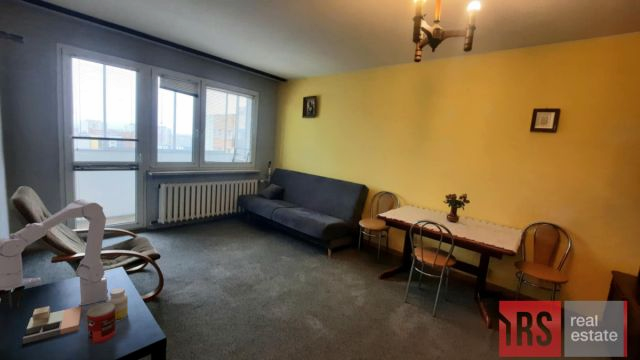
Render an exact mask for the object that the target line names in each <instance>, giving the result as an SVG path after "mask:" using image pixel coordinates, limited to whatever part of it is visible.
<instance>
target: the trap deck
mask: <svg viewBox="0 0 640 360" xmlns="http://www.w3.org/2000/svg"><path fill="white" fill-rule="evenodd" d="M81 315H82V306H76V307H72V308H67V309H62V310H58V311H54V312H50V318H49V321H48V322H44V323H40V324H35V325H33V316H32V317H30V319H29V322H28V325H27V327H26V330H25V331H26V336H23V337H22V344H23V345H24V344H29V343H32V342H36V341H40V340H41V341H42V340H43V339H47V338H52V337H55V336H58V335H59V336H60V335H63V334H67V333H71V332H74V331H79V329H80V323H81Z"/></svg>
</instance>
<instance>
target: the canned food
mask: <svg viewBox="0 0 640 360" xmlns="http://www.w3.org/2000/svg"><path fill="white" fill-rule="evenodd" d="M86 318H87V319H86V321H87V324H86V325H87V338H88V341H89V343H91V344H101V343H104V342H107V341H109V340H111V339H112V338H113V337H114V336H115V335H116V322H115V305H114V304H112V303H108V302H105V303H99V304H95V305H93V306H91V307H89V309H88V310H87V312H86Z"/></svg>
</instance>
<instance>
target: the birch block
mask: <svg viewBox="0 0 640 360" xmlns="http://www.w3.org/2000/svg"><path fill="white" fill-rule="evenodd" d="M50 313H51V307H50V306H49V305H48V306H43V307H38V308H35V309H34V310H33V314H32V317H33V325H35V324H40V323H44V322H48V321H49V318H50Z"/></svg>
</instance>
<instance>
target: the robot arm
mask: <svg viewBox="0 0 640 360" xmlns="http://www.w3.org/2000/svg"><path fill="white" fill-rule="evenodd" d="M103 209H104V208H103V206H101V205H100V204H99V203H98V202H92V201H89V200H85V199H77V200H74V202H71V203H69V204H67V206H65V207H64V208H62V209H61V210H60V211H57V212H56V213H54V214H53V215H50V217H48V218H46V219H45V220H43V221H41V222H33V223H28V224H26V225H25V227H24V228H22V229H20V230H18V231H16V232H14V233H13V232H12V233H10V234H9V236H6V237H5V236H4V237H1V238H0V299H1V301H3V303H4V304H5V306H6V308H7V310H9V311H10V310H12V307H13V300H12V294H13V297H14V298H13V299H14V309H18V308H19V307H20V300H21V297H22V294H23V292H24V290H25V288H26V287H28V286H34V285H36V286H38V285H40V286H41V283H42V277H30V278H24V272H23V259H22V252H24V250H25V248H27V246H29V245H31V244H33V243H34V242H36V241H37V240H39V239H41V238H43V237H45V236H46V234H47V232H48V230H50V229H52V228H54V227H55V226H58V225H60V224H62V223H64V222H65V221H68V220H70V219H77V218H78V219H80V218H81V219H82V218H84V219H85V220H86V221H88V222H89V223H88V224H89V226H88V231H87V237H86V242H85V243H86V245H85V249H84V258H83V259H81V260H80V261H79V265H78V267H77V269H76V271H75V274H76V276H77V277H78V278H79V289H80V290H79V292H80V293H79V295H80V296H79V302H78V307H80V306H81V307H82V306H84V305H91V304H94V303H95V304H96V303H99V302H103V301H108V294H109V289H108V284H107V283H108V280H107V278H108V277H107V276H105V269H104V262H103V261H102V259H101V254H102V248H103V242H104V234H105V227H106V222H107V217H106V215H105V212H104V210H103ZM104 276H105V277H104ZM13 289H14V290H13Z"/></svg>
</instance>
